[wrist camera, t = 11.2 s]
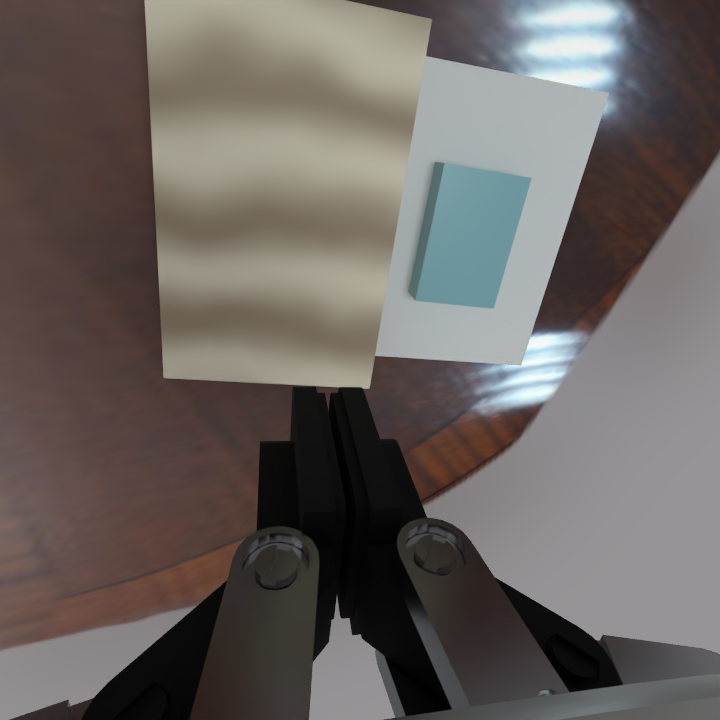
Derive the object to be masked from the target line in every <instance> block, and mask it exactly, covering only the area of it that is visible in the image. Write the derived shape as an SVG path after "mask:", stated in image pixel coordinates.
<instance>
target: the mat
mask: <svg viewBox="0 0 720 720" xmlns="http://www.w3.org/2000/svg"><path fill="white" fill-rule="evenodd" d="M608 95H609V93H607V92H602V91H597V90H592V89H587V88H582V87H577V86H572V85H567V84H562V83H557V82H552V81H547V80H542V79H537V78H532V77H527V76H522V75H517V74H512V73H507V72H502V71H497V70H492V69H487V68H482V67H477V66H472V65H467V64H462V63H457V62H452V61H447V60H442V59H437V58H432V57H427V56H426V58H425V64H424V70H423V76H422V82H421V87H420V93H419V99H418V105H417V111H416V117H415V123H414V129H413V135H412V141H411V146H410V152H409V158H408V164H407V170H406V176H405V182H404V188H403V194H402V199H401V205H400V211H399V217H398V223H397V229H396V235H395V241H394V247H393V252H392V258H391V264H390V270H389V276H388V282H387V288H386V294H385V300H384V305H383V311H382V317H381V323H380V329H379V335H378V341H377V347H376V353H375V356H388V357H403V358H418V359H433V360H448V361H463V362H478V363H493V364H508V365H521V364H522V360H523V357H524V354H525V351H526V348H527V345H528V342H529V339H530V336H531V333H532V330H533V326H534V323H535V320H536V317H537V314H538V311H539V308H540V305H541V302H542V299H543V296H544V293H545V289H546V286H547V283H548V280H549V277H550V274H551V271H552V268H553V265H554V262H555V259H556V256H557V252H558V249H559V246H560V243H561V240H562V237H563V234H564V231H565V228H566V225H567V222H568V218H569V215H570V212H571V209H572V206H573V203H574V200H575V197H576V194H577V191H578V188H579V185H580V181H581V178H582V175H583V172H584V169H585V166H586V163H587V160H588V157H589V154H590V151H591V148H592V144H593V141H594V138H595V135H596V132H597V129H598V126H599V123H600V120H601V117H602V114H603V110H604V107H605V104H606V101H607V98H608ZM435 162H441V163H446V164H452V165H458V166H464V167H470V168H476V169H482V170H488V171H494V172H500V173H506V174H512V175H518V176H523V177H529V178H532V179H531V182H530V186H529V189H528V193H527V196H526V200H525V203H524V206H523V210H522V213H521V217H520V220H519V224H518V227H517V230H516V234H515V237H514V241H513V244H512V248H511V251H510V254H509V258H508V261H507V265H506V268H505V272H504V275H503V278H502V282H501V285H500V289H499V292H498V296H497V299H496V302H495V306H494V309H490V308H481V307H471V306H462V305H452V304H442V303H433V302H423V301H415V300H414V298H413V297H412V296H411V294H410V293H409V288H410V283H411V278H412V273H413V268H414V263H415V258H416V253H417V249H418V244H419V239H420V234H421V229H422V224H423V219H424V214H425V209H426V205H427V200H428V195H429V190H430V185H431V180H432V175H433V170H434V165H435Z"/></svg>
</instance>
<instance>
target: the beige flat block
mask: <svg viewBox="0 0 720 720" xmlns="http://www.w3.org/2000/svg"><path fill="white" fill-rule="evenodd" d="M145 17H146V37H147V57H148V77H149V97H150V117H151V137H152V157H153V177H154V197H155V216H156V236H157V256H158V276H159V296H160V316H161V336H162V356H163V376H164V378H173V379H193V380H212V381H231V382H250V383H269V384H288V385H308V386H327V387H362V388H365V389H369V388H370V382H371V376H372V370H373V364H374V359H375V353H376V347H377V341H378V335H379V329H380V323H381V317H382V311H383V305H384V300H385V294H386V288H387V282H388V276H389V270H390V264H391V258H392V252H393V247H394V241H395V235H396V229H397V223H398V217H399V211H400V205H401V199H402V194H403V188H404V182H405V176H406V170H407V164H408V158H409V152H410V146H411V141H412V135H413V129H414V123H415V117H416V111H417V105H418V99H419V93H420V87H421V82H422V76H423V70H424V64H425V58H426V52H427V46H428V40H429V34H430V29H431V23H432V19H429V18H425V17H420V16H415V15H411V14H406V13H401V12H397V11H392V10H388V9H383V8H378V7H374V6H369V5H365V4H360V3H355V2H351V1H346V0H145Z"/></svg>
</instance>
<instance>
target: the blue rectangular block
mask: <svg viewBox="0 0 720 720" xmlns="http://www.w3.org/2000/svg"><path fill="white" fill-rule="evenodd" d="M531 179H532V178H529V177H523V176H518V175H512V174H506V173H500V172H494V171H488V170H482V169H476V168H470V167H464V166H458V165H452V164H446V163H441V162H435V165H434V170H433V175H432V180H431V185H430V190H429V195H428V200H427V205H426V209H425V214H424V219H423V224H422V229H421V234H420V239H419V244H418V249H417V253H416V258H415V263H414V268H413V273H412V278H411V283H410V288H409V293H410V294H411V296H412V297H413V298H414V300H415V301H423V302H433V303H442V304H452V305H462V306H471V307H481V308H490V309H494V306H495V302H496V299H497V296H498V292H499V289H500V285H501V282H502V278H503V275H504V272H505V268H506V265H507V261H508V258H509V254H510V251H511V248H512V244H513V241H514V237H515V234H516V230H517V227H518V224H519V220H520V217H521V213H522V210H523V206H524V203H525V200H526V196H527V193H528V189H529V186H530V182H531Z"/></svg>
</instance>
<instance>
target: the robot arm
mask: <svg viewBox="0 0 720 720" xmlns="http://www.w3.org/2000/svg"><path fill="white" fill-rule="evenodd" d="M336 597H338V604H339V611H340V616H341V618H350V624H351V630H352V635H358V634H361V636H362V639H363V640H365V641H366V642H367V643H369V644H370V645H371V646H372V647H374V648H375V649H376V651H375V654H376V659H377V665H378V668H379V671H380V673H381V676H382V679H383V682H384V685H385V688H386V691H387V694H388V697H389V700H390V703H391V706H392V709H393V712H394V715H395V718H392V719H385V720H720V654H718V653H715V652H712V651H709V650H705V649H702V648H695V647H688V646H680V645H673V644H666V643H658V642H651V641H644V640H635V639H629V638H622V637H614V636H607V635H603V636H602V638H601V639H600V641H597V640H595V639H594V638H593V637H592V636H590V635H589V634H587V633H586V632H585V631H584V630H582V629H581V628H579V627H578V626H576V625H574V624H573V623H571V622H569V621H567V620H566V619H564V618H562V617H561V616H559V615H557V614H556V613H554V612H552V611H551V610H549V609H547V608H546V607H544V606H542V605H541V604H539V603H537V602H536V601H534V600H532V599H530V598H529V597H527V596H525V595H524V594H522V593H520V592H519V591H517V590H515V589H514V588H512V587H510V586H509V585H507V584H505V583H503V582H502V581H500V580H498V579H497V578H495V577H494V576H493V574H492V573H491V571H490V570H489V568H488V567H487V565H486V564H485V562H484V561H483V559H482V558H481V556H480V554H479V553H478V551H477V550H476V548H475V547H474V545H473V544H472V542H471V541H470V540H469V538H468V537H467V536H466V535H465V534H464V533H463V532H462V531H461V530H460V529H458V528H457V527H455V526H454V525H452V524H450V523H448V522H445V521H443V520H439V519H433V518H427V516H426V514H425V512H424V509H423V506H422V504H421V501H420V498H419V496H418V493H417V491H416V488H415V486H414V483H413V481H412V478H411V475H410V473H409V470H408V468H407V465H406V463H405V460H404V457H403V455H402V452H401V450H400V447H399V445H398V443H397V441H396V440H395V439H380V438H379V435H378V432H377V429H376V426H375V423H374V420H373V417H372V414H371V411H370V408H369V405H368V402H367V399H366V396H365V394H364V391H363V388H362V387H339V390H338V393H331V394H330V402H329V413H328V407H327V402H326V397H325V393H317V390H316V387H293V392H292V414H291V437H290V441H263V442H260V460H259V487H258V513H257V531H256V532H255V533H253V534H252V535H250V536H248V537H247V538H246V539H245V540H244V541H243V542H242V543H241V544H240V545H239V546H238V548H237V551H236V553H235V555H234V557H233V560H232V564H231V568H230V572H229V575H228V579H227V581H226V582H225V583H223V584H222V585H221V586H220V587H219V588H218V589H216V590H215V591H214V592H213V593H212V594H211V595H209V596H208V597H207V598H206V599H205V600H204V601H203V602H201V603H200V604H199V605H198V606H197V607H196V608H194V609H193V610H192V611H191V612H190V613H189V614H187V615H186V616H185V617H184V618H183V619H182V620H180V621H179V622H178V623H177V624H176V625H175V626H174V627H172V628H171V629H170V630H169V631H168V632H167V633H165V634H164V635H163V636H162V637H161V638H160V639H158V640H157V641H156V642H155V643H154V644H153V645H151V646H150V647H149V648H148V649H147V650H146V651H144V652H143V653H142V654H141V655H140V656H139V657H138V658H136V659H135V660H134V661H133V662H132V663H130V664H129V665H128V666H127V667H126V668H125V669H123V670H122V671H121V672H120V673H119V674H118V675H116V676H115V677H114V678H113V679H112V680H111V681H110V682H108V683H107V685H106V686H105V687H104V688H103V689H102V690H101V691H100V692H99V693H98V694H97V695H96V696H95V697H94V698H93V699H90V700H87V701H84V702H81V703H79V704H76V705H73V706H70V704H69V700H66V701H63V702H60V703H57V704H54V705H51V706H48V707H46V708H42V709H40V710H37V711H34V712H31V713H28V714H25V715H22V716H19V717H16V718H13V719H10V720H309V709H310V695H311V679H312V664H313V661H314V660H315V659H316V657H317V656H318V655H319V654H320V652H321V651H322V650H323V649H324V647H325V646H326V645H327V644H328V642H329V636H330V627H331V620H332V619H334V613H335V604H336Z"/></svg>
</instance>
